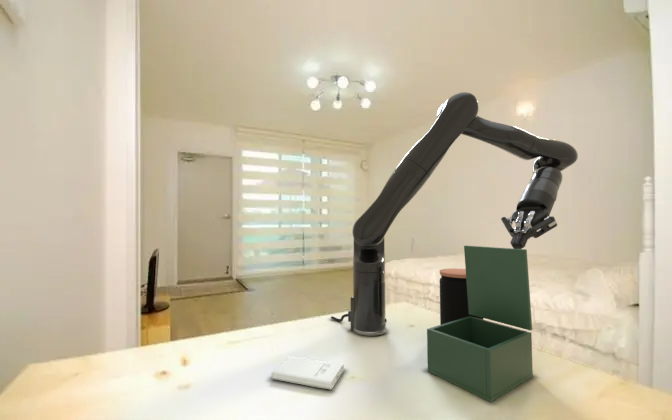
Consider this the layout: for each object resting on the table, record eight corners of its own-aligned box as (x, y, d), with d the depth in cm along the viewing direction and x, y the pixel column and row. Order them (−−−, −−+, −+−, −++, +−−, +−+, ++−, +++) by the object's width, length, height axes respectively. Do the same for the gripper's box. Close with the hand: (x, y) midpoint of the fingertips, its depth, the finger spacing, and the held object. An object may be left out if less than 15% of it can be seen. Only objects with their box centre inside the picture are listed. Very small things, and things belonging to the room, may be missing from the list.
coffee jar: (475, 333, 87) (474, 268, 88) (490, 348, 76) (488, 275, 77) (436, 331, 88) (435, 268, 89) (446, 347, 77) (444, 274, 78)
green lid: (524, 249, 62) (526, 249, 63) (463, 245, 74) (465, 245, 74) (530, 330, 63) (532, 329, 63) (468, 314, 74) (470, 313, 74)
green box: (491, 402, 54) (490, 350, 54) (427, 371, 65) (426, 328, 65) (532, 376, 62) (531, 332, 63) (470, 353, 74) (469, 315, 74)
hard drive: (290, 362, 69) (343, 370, 65) (271, 380, 61) (330, 391, 57) (290, 355, 69) (343, 363, 65) (271, 371, 61) (330, 382, 57)
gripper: (506, 190, 86) (483, 235, 78) (562, 185, 75) (541, 237, 67) (516, 209, 89) (494, 255, 81) (571, 208, 78) (552, 260, 70)
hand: (516, 247), depth 74 cm, fingers closed
